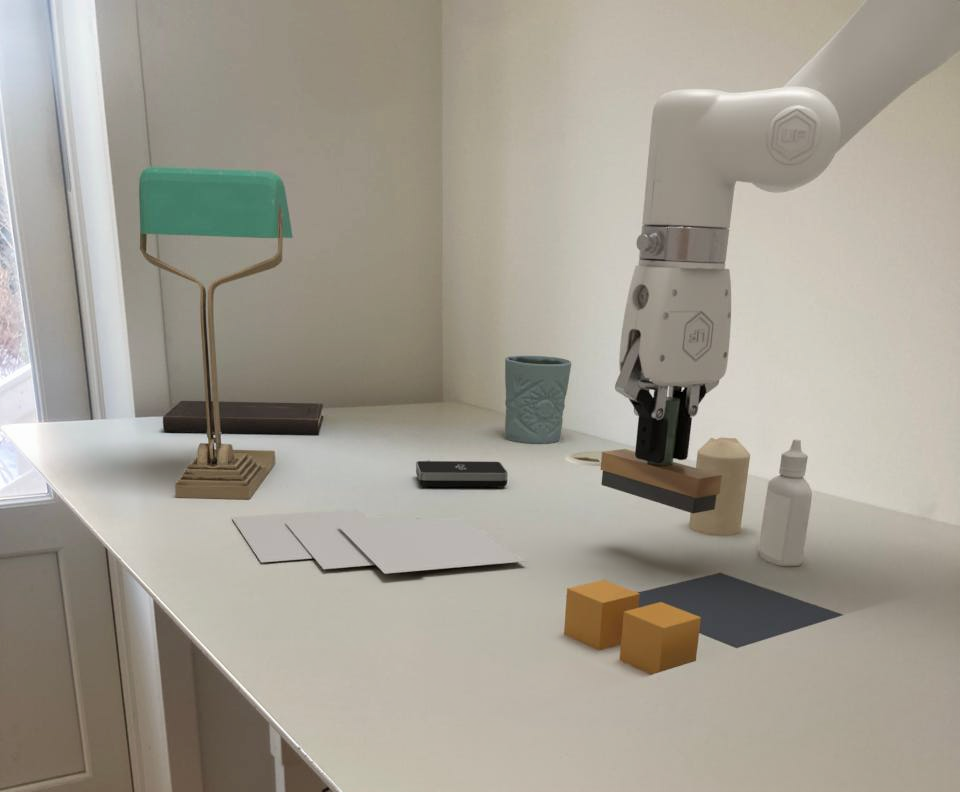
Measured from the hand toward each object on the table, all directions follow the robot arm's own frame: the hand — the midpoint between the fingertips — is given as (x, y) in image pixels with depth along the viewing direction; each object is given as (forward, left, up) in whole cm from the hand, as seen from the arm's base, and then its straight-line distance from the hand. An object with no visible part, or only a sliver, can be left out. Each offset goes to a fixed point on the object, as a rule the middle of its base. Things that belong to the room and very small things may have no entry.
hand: (661, 457), depth 96 cm
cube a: (+18, +18, -10) cm, 28 cm away
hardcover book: (+2, -86, -11) cm, 87 cm away
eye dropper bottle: (-12, +6, -11) cm, 17 cm away
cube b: (+18, +12, -10) cm, 24 cm away
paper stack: (+20, -20, -10) cm, 30 cm away
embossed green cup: (-32, -56, -11) cm, 65 cm away
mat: (+4, +15, -10) cm, 19 cm away
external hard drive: (-4, -37, -11) cm, 39 cm away
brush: (0, 0, -4) cm, 4 cm away
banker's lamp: (+20, -53, -11) cm, 58 cm away
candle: (-15, -5, -11) cm, 19 cm away
